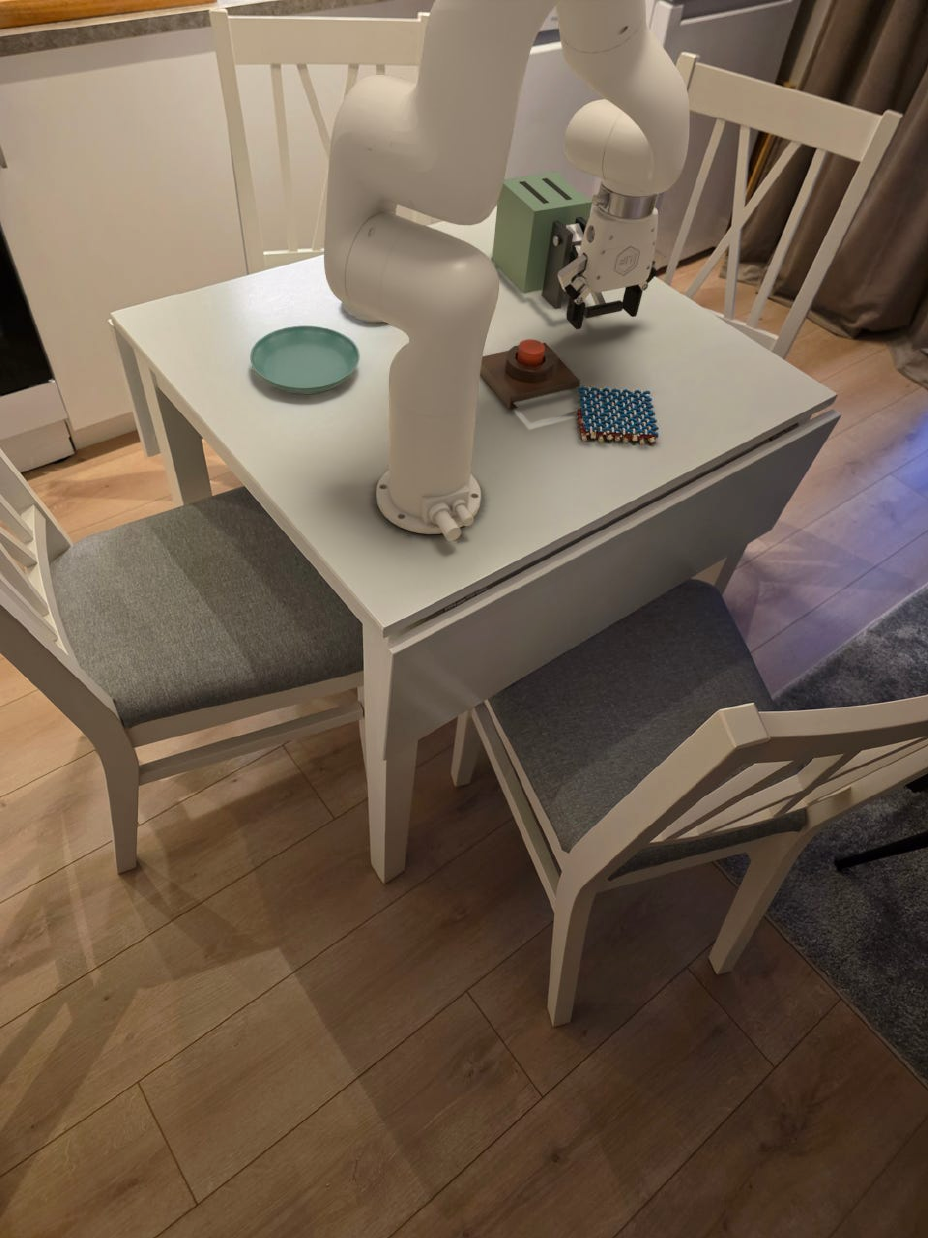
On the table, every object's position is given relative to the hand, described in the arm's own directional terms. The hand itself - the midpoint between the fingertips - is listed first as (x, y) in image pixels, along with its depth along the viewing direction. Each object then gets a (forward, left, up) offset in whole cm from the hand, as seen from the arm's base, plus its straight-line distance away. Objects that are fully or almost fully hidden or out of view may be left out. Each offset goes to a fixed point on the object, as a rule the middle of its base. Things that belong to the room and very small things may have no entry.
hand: (601, 318), depth 121 cm
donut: (+19, +28, -4) cm, 34 cm away
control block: (-6, +15, -4) cm, 17 cm away
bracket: (+10, 0, -4) cm, 11 cm away
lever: (+6, 0, +3) cm, 7 cm away
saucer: (+7, +43, -4) cm, 44 cm away
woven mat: (-18, +8, -4) cm, 20 cm away
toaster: (+20, 0, -4) cm, 20 cm away
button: (-6, +15, 0) cm, 16 cm away
